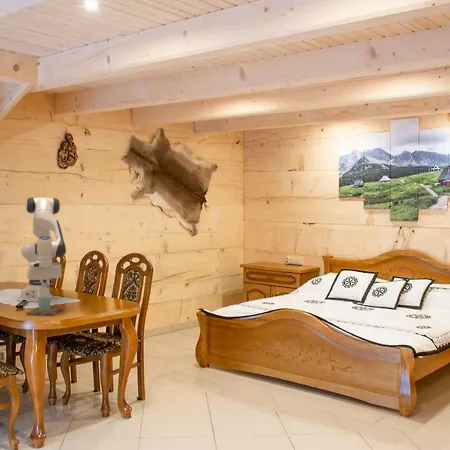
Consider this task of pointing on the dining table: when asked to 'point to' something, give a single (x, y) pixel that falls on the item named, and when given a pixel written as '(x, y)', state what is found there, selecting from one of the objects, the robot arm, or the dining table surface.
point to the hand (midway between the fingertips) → (44, 286)
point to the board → (50, 313)
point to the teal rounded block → (44, 303)
